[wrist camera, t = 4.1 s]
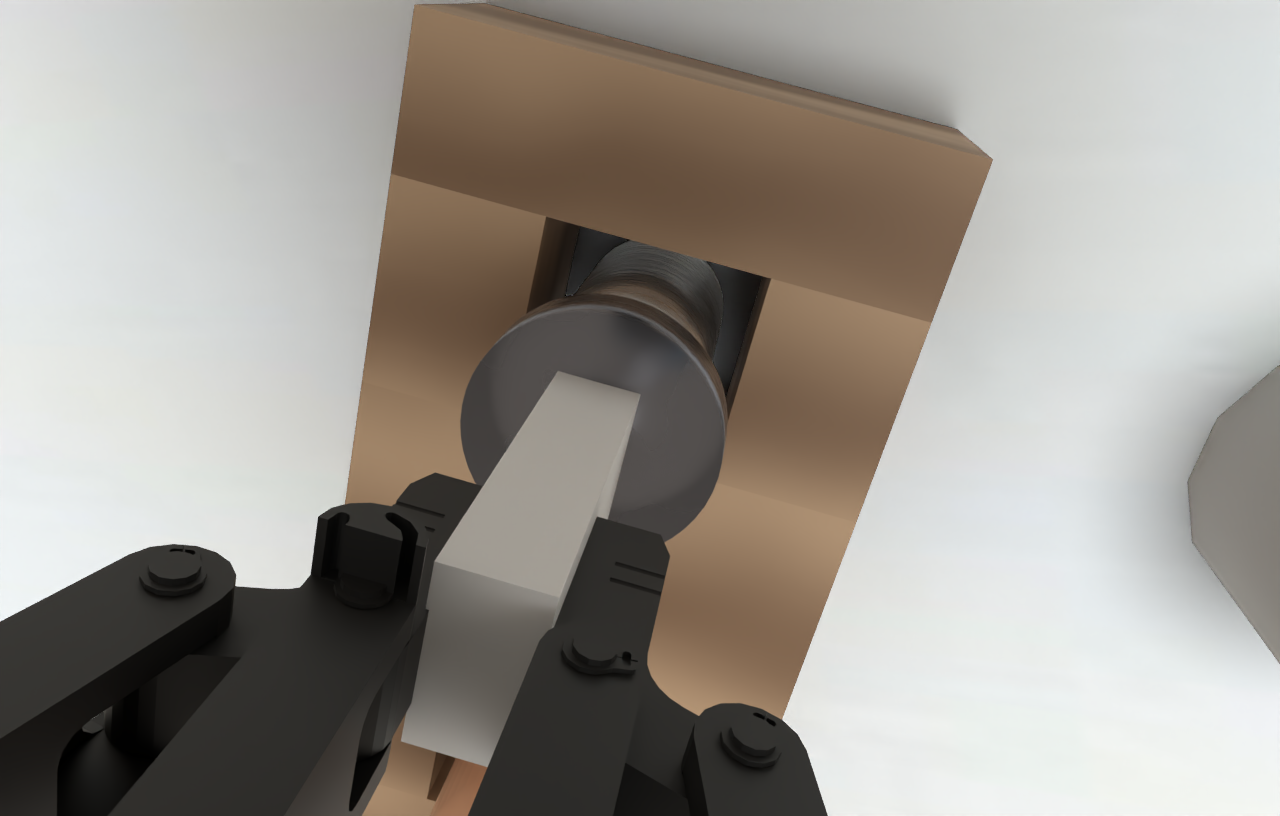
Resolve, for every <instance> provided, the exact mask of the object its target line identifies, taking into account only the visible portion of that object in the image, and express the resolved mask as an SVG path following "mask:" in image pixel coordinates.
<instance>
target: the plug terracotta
mask: <svg viewBox="0 0 1280 816" xmlns="http://www.w3.org/2000/svg"><path fill="white" fill-rule="evenodd" d="M486 770H487V767H485V766H482V765H478V764H475V763H472V762H468V761H465V760H462V759H458V758H455V760H454V762H453V765H452V767H451V769H450V771H449V773H448V776H447V778H446V780H445V782H444V784H443V787H442V789H441V791H440V793H439V795H438V798H437V800H436V802H435V804H434V806H433V809H432V811H431V813H430V815H429V816H468V814H469V811H470V809H471V806H472V804H473V801H474V799H475V797H476V794H477V792H478V789H479V787H480V784H481V782H482V780H483V777H484V775H485V772H486Z"/></svg>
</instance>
